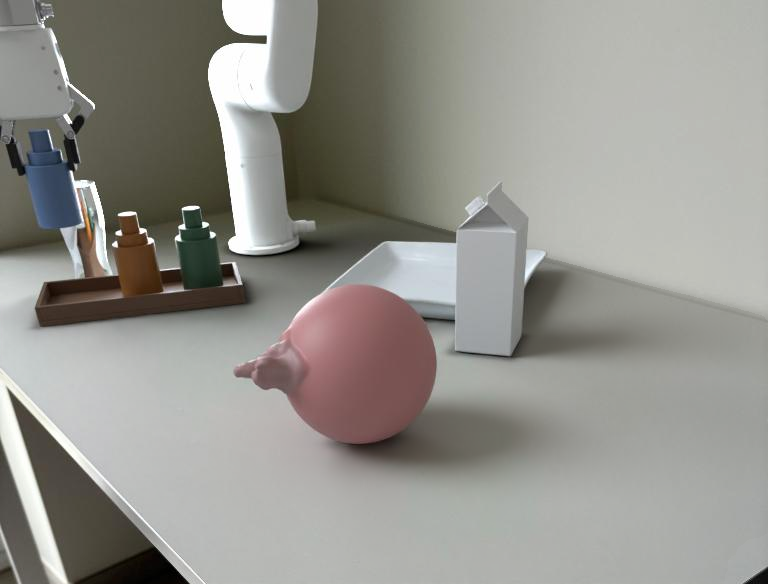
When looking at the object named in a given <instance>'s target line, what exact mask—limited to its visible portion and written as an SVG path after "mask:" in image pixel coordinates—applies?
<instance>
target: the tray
mask: <svg viewBox="0 0 768 584" xmlns="http://www.w3.org/2000/svg"><path fill="white" fill-rule="evenodd" d="M220 265H221V271H222V278H223V285H224V286H216V287H207V288H198V289H189V290H184V287H183V281H182V276H181V270H180V267H173V268H164V269H160V274H161V280H162V285H163V290H164V292H162V293H153V294H144V295H135V296H126V297H123V294H122V289H121V285H120V280H119V276H118V273H117V274H113V275H106V276H97V277H87V278H78V279H75V278H71V279H70V278H69V279H60V280H49V281H43V284H42V286H41V289H40V292H39V294H38V297H37V300H36V302H35V305H34V311H35V314H36V318H37V322H38V325H39V327H49V326H58V325H67V324H75V323H85V322H92V321H100V320H102V321H103V320H110V319H119V318H127V317H136V316H144V315H154V314H163V313H171V312H179V311H187V310H188V311H189V310H196V309H197V310H198V309H205V308H214V307H223V306H232V305H241V304H246V299H245V291H244V284H243V280H242V278H241V275H240V271H239V268H238V265H237V262H236V261H230V262H220Z"/></svg>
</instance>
